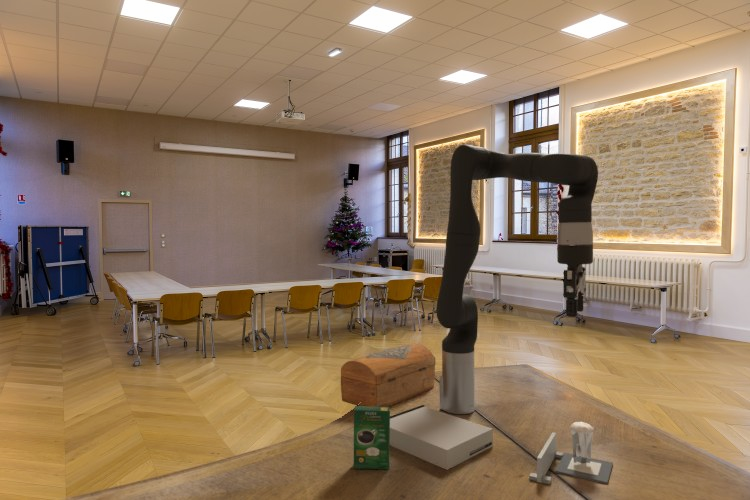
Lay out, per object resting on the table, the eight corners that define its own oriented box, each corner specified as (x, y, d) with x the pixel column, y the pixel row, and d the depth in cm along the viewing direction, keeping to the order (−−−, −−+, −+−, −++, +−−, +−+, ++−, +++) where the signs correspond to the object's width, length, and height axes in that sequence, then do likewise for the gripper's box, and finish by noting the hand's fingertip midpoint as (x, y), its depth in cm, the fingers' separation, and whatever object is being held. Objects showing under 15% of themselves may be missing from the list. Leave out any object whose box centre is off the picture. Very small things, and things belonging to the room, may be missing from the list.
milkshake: (600, 471, 104) (600, 423, 103) (573, 469, 105) (573, 422, 104) (594, 461, 108) (594, 416, 108) (568, 459, 109) (568, 414, 109)
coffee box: (391, 464, 109) (390, 405, 109) (390, 470, 106) (389, 410, 106) (354, 463, 110) (353, 405, 109) (353, 469, 107) (352, 409, 106)
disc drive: (422, 422, 135) (422, 404, 134) (493, 447, 118) (493, 427, 118) (375, 441, 123) (375, 421, 123) (446, 472, 106) (446, 449, 106)
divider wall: (529, 480, 101) (529, 455, 101) (545, 452, 114) (545, 430, 114) (549, 484, 99) (549, 460, 99) (563, 456, 112) (563, 434, 112)
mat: (555, 472, 104) (555, 470, 104) (564, 454, 113) (564, 452, 113) (607, 484, 99) (607, 481, 99) (612, 464, 108) (612, 462, 108)
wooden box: (398, 378, 175) (398, 340, 175) (436, 388, 164) (436, 346, 164) (336, 400, 153) (336, 355, 152) (376, 412, 142) (376, 364, 141)
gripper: (563, 242, 120) (563, 308, 121) (551, 243, 108) (551, 317, 109) (597, 242, 116) (597, 310, 117) (588, 243, 104) (588, 319, 105)
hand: (575, 313), depth 113 cm, fingers open, 8 cm apart
